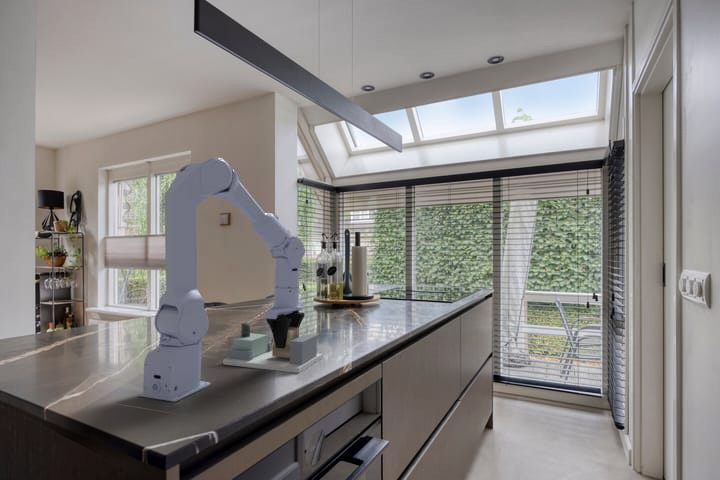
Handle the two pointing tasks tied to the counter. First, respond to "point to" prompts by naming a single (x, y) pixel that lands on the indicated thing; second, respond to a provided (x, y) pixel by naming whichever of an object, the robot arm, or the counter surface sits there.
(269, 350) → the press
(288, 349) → the block
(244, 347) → the mint block with peg
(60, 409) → the counter surface
